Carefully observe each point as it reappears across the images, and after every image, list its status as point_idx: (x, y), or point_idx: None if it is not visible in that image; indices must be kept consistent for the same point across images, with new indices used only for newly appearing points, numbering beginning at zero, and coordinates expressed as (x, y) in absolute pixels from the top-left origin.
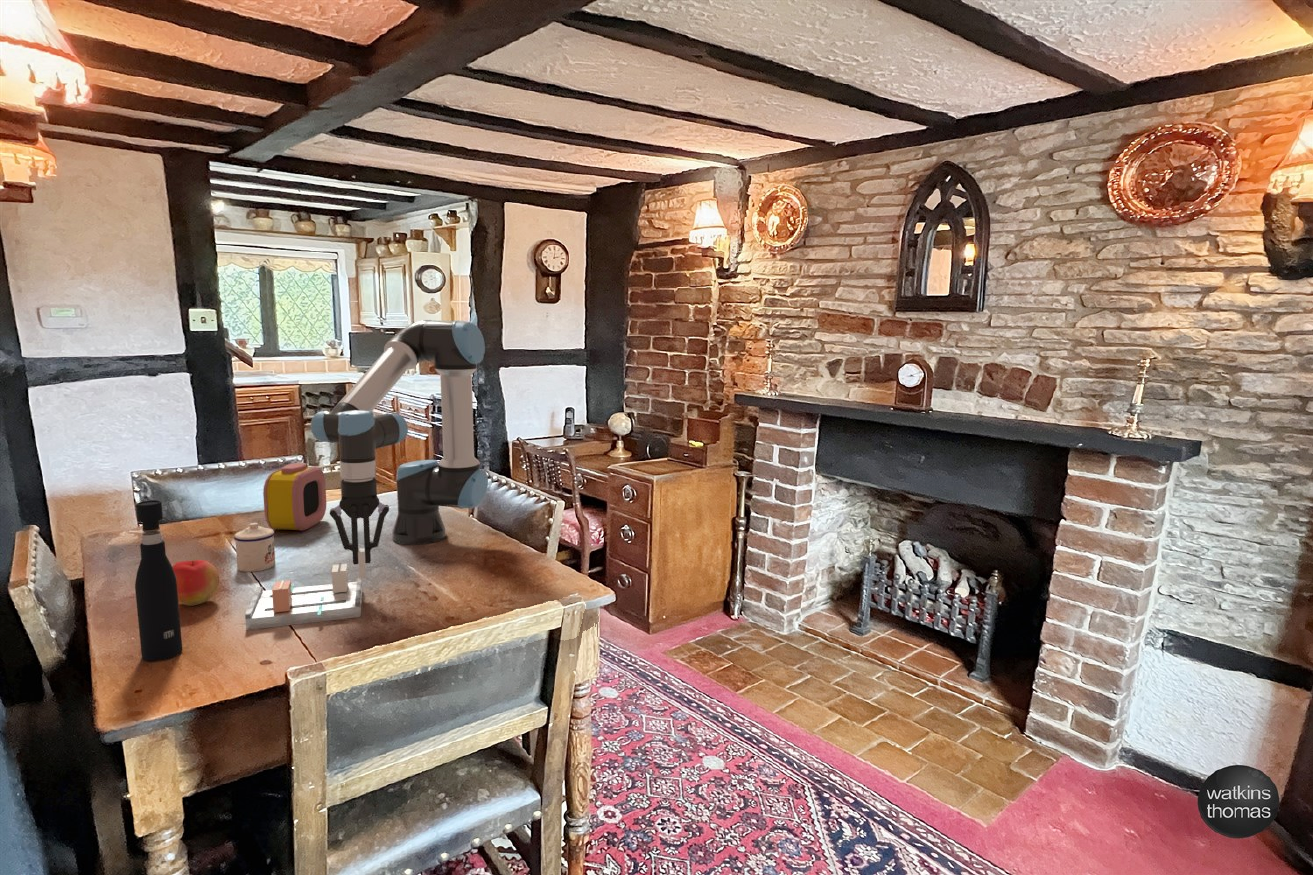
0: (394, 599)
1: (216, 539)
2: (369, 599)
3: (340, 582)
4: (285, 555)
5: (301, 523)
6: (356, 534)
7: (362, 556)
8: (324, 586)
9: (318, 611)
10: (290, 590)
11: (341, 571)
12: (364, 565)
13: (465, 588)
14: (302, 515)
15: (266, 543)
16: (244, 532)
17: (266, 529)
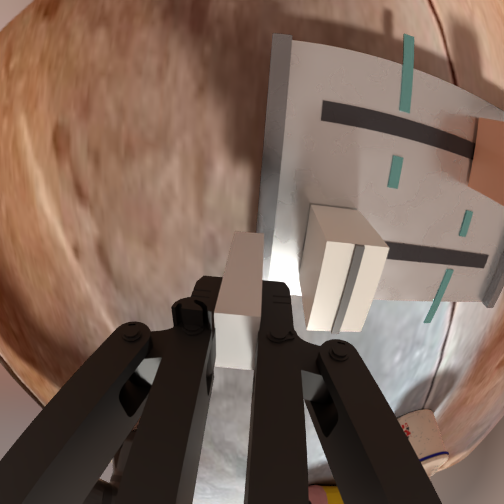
0: (156, 162)
1: None
2: (234, 190)
3: (341, 222)
4: None
5: (316, 493)
6: (261, 439)
7: (234, 292)
8: None
9: (411, 61)
10: (501, 179)
11: (348, 241)
12: (231, 260)
13: (11, 192)
14: (315, 502)
15: None
16: (438, 467)
17: None
